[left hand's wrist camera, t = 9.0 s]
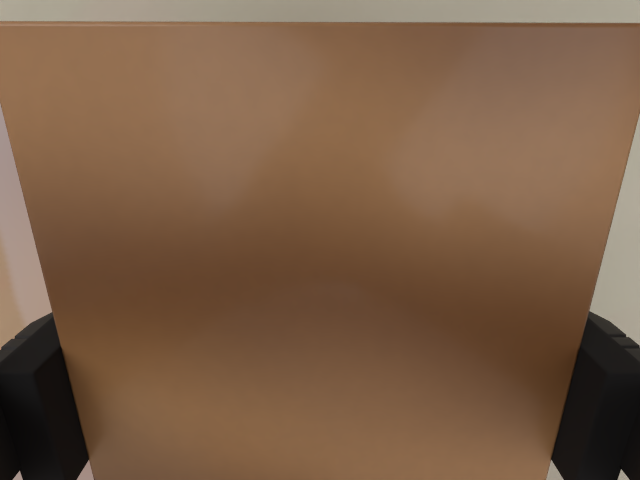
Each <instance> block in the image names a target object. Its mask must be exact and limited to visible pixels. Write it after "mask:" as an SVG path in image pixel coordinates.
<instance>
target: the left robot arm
mask: <svg viewBox="0 0 640 480" xmlns="http://www.w3.org/2000/svg"><path fill="white" fill-rule="evenodd" d="M1 348H2V349H1V350H0V480H13V478H14V477H15V476H16V474H17V473H18V472H19V471H20V472H21V475H22V478H23V480H77V478H78V476H79V475H80V473H81V471H82V470H83V468H84V467H85V465H86V463H87V462H88V460H89V457H88V453H87V449H86V445H85V441H84V437H83V433H82V429H81V425H80V421H79V417H78V413H77V409H76V405H75V401H74V397H73V393H72V389H71V385H70V381H69V377H68V373H67V369H66V365H65V361H64V357H63V353H62V348H61V344H60V340H59V336H58V332H57V328H56V324H55V320H54V316H53V312H52V313H50V314H48V315H46V316H44V317H42V318H40V319H38V320H36V321H34V322H32V323H30V324H29V325H28V326H27V327H26V328H24V329H23V330H22V331H21V332H19V333H18V334H17V335H16V336H15V339H11V340H10V341H9V342H7V343H6V344H5V345H4V346H2V347H1ZM551 460H552V461H553V463H554V464H555V466H556V468H557V469H558V471H559V473H560V474H561V476H562V477H563V479H564V480H617V479H618V476H619V473H620V470H621V469H622V470H623V472H624V473H625V474H626V475H627V477H628V478H629V479H630V480H640V347H639V345H638V344H637V343H636V342H634V341H633V340H632V339H631V338H629V337H626V334H624V333H623V332H622V331H621V330H620V329H618V328H617V327H616V326H615V325H613V324H612V323H611V322H610V321H608V320H606V319H604V318H602V317H600V316H598V315H596V314H594V313H592V312H590V311H589V313H588V317H587V321H586V325H585V329H584V333H583V337H582V341H581V345H580V348H579V352H578V356H577V360H576V364H575V368H574V372H573V376H572V380H571V384H570V388H569V391H568V395H567V399H566V403H565V407H564V411H563V415H562V419H561V423H560V427H559V431H558V434H557V438H556V442H555V446H554V450H553V454H552V458H551Z"/></svg>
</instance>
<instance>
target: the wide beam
mask: <svg viewBox="0 0 640 480" xmlns="http://www.w3.org/2000/svg"><path fill="white" fill-rule="evenodd" d="M0 103H1V107H2V111H3V115H4V119H5V123H6V127H7V131H8V135H9V139H10V143H11V147H12V151H13V156H14V159H15V164H16V168H17V172H18V175H19V180H20V184H21V188H22V192H23V196H24V200H25V204H26V208H27V212H28V216H29V220H30V224H31V228H32V232H33V236H34V240H35V244H36V248H37V252H38V256H39V260H40V264H41V268H42V272H43V276H44V280H45V284H46V288H47V292H48V296H49V300H50V304H51V308H52V312H53V316H54V320H55V324H56V328H57V332H58V336H59V340H60V344H61V348H62V353H63V357H64V361H65V365H66V369H67V373H68V377H69V381H70V385H71V389H72V393H73V397H74V401H75V405H76V409H77V413H78V417H79V421H80V425H81V429H82V433H83V437H84V441H85V445H86V449H87V453H88V457H89V461H90V465H91V469H92V473H93V477H94V480H546V478H547V474H548V470H549V466H550V462H551V458H552V454H553V450H554V446H555V442H556V438H557V434H558V431H559V427H560V423H561V419H562V415H563V411H564V407H565V403H566V399H567V395H568V391H569V388H570V384H571V380H572V376H573V372H574V368H575V364H576V360H577V356H578V352H579V348H580V345H581V341H582V337H583V333H584V329H585V325H586V321H587V317H588V313H589V309H590V305H591V301H592V298H593V294H594V290H595V286H596V282H597V278H598V274H599V270H600V266H601V262H602V258H603V255H604V251H605V247H606V243H607V239H608V235H609V231H610V227H611V223H612V219H613V215H614V212H615V208H616V204H617V200H618V196H619V192H620V188H621V184H622V180H623V176H624V172H625V168H626V165H627V161H628V157H629V153H630V149H631V145H632V141H633V137H634V133H635V129H636V125H637V122H638V118H639V114H640V23H448V22H74V21H0Z"/></svg>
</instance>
